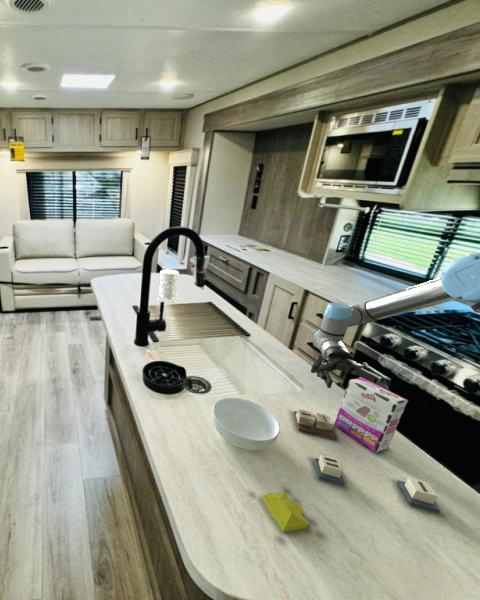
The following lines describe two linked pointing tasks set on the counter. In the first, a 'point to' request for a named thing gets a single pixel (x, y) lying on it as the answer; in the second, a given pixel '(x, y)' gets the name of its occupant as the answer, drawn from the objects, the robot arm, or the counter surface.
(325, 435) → the cream block pair
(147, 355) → the counter surface
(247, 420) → the cereal bowl
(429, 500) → the cream blocks on trays
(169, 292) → the decorative container
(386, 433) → the candy bar box
